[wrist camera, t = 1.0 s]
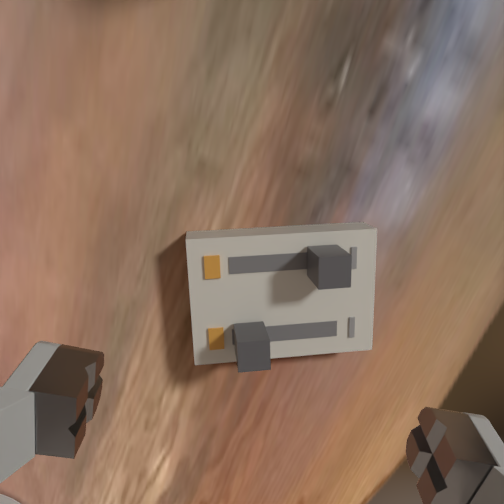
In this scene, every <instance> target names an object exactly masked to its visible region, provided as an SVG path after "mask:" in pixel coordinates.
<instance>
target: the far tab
mask: <svg viewBox="0 0 504 504" xmlns="http://www.w3.org/2000/svg"><path fill="white" fill-rule="evenodd" d="M234 345H235V355H236V361H237V367H238V372H249V371H260V370H271V362H270V339H269V336H268V333H267V330H266V328H265V325H264V322H263V321H261V322H248V323H236V324H234Z"/></svg>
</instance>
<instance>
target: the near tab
mask: <svg viewBox="0 0 504 504" xmlns="http://www.w3.org/2000/svg"><path fill="white" fill-rule="evenodd" d="M351 268H352V255H351V254H349V253H348V252H347V251H345V250H344V249H343V248H341V247H340V246H338V245H337V244H336V245H319V246H307V276H308V277H309V279H310V280H311V281H312V282H313V284H314V285H315V286H316V287H317V288H318V290H322V289H336V288H350V287H351Z"/></svg>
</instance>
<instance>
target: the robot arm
mask: <svg viewBox="0 0 504 504" xmlns="http://www.w3.org/2000/svg"><path fill="white" fill-rule="evenodd" d="M103 366H104V354H103V352H100V351H94V350H89V349H84V348H79V347H74V346H69V345H63V344H62V345H61V344H56V343H51V342H46V341H39V342H38V343H36V344H35V345H34V346H33V348H32V349H31V350H30V351H29V353H28V354H27V355H26V357H25V358H24V359H23V361H22V362H21V363H20V364H19V366H18V367H17V368H16V370H15V371H14V372H13V373H12V375H11V376H10V377H9V379H8V380H7V381H6V383H5V384H4V385H3V386H2V387H0V483H1V482H3V481H4V480H5V479H6V478H8V477H9V476H10V475H12V474H13V473H14V472H15V471H17V470H18V469H19V468H21V467H22V466H23V465H24V464H26V463H27V462H28V461H30V460H31V459H32V458H33V457H35V454H39V455H48V456H56V457H64V458H73V459H74V458H75V456H76V454H77V451H78V449H79V447H80V445H81V443H82V441H83V438H84V436H85V431H86V423H87V422H89V421H90V420H92V419H93V416H94V414H95V412H96V409H97V406H98V403H99V400H100V396H101V390H102V382H103V379H102V378H101V377H100V375H99V374H100V372H101V370H102V368H103ZM418 421H419V423H420V425H419V426H417V427H416V428H414V429H413V430H411V432H410V434H409V436H408V439H407V444H406V455H407V461H408V464H409V466H410V469H411V470H412V471H413V472H414V473H415V474H416V475H417V476H418V477H419V480H418V483H417V489H418V491H419V494H420V497H421V499H422V502H423V504H504V444H503V442H502V441H501V439H500V438H499V436H498V434H497V433H496V431H495V430H494V428H493V426H492V425H491V423H490V422H489V420H488V419H487V418H485V417H484V416H483V415H477V414H470V413H461V412H455V411H448V410H443V409H436V408H430V407H425V408H424V409H422V410H421V412H420V414H419V416H418ZM0 504H21V503H19V502H18V501H16V500H14V499H12V498H10V497H8V496H5V495H3V494H0Z"/></svg>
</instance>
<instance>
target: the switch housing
mask: <svg viewBox="0 0 504 504" xmlns="http://www.w3.org/2000/svg"><path fill="white" fill-rule="evenodd" d="M336 244H337V245H338V246H340V247H341V248H343V249H344V250H345V251H347V252H348V253H349V254H351V255H352V268H351V287H350V288H336V289H322V290H318V288H317V287H316V286H315V285H314V284H313V282H312V281H311V280H310V279H309V277H308V276H307V246H319V245H336ZM376 245H377V228H375V227H373V226H371V225H369V224H367V223H364V222H352V223H334V224H315V225H297V226H279V227H261V228H243V229H225V230H206V231H188V232H187V233H186V252H187V266H188V280H189V293H190V307H191V321H192V335H193V348H194V362H195V365H204V364H215V363H227V362H237V361H236V355H235V345H234V324H236V323H248V322H261V321H263V322H264V325H265V328H266V330H267V333H268V336H269V339H270V359H272V358H283V357H294V356H305V355H317V354H328V353H339V352H350V351H362V350H372V339H373V315H374V292H375V269H376Z"/></svg>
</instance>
